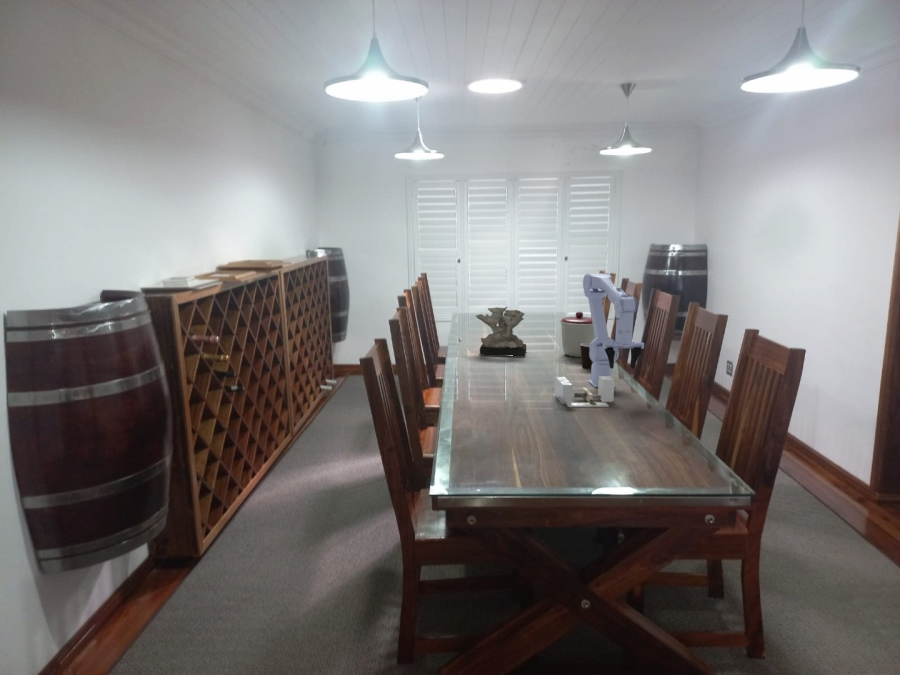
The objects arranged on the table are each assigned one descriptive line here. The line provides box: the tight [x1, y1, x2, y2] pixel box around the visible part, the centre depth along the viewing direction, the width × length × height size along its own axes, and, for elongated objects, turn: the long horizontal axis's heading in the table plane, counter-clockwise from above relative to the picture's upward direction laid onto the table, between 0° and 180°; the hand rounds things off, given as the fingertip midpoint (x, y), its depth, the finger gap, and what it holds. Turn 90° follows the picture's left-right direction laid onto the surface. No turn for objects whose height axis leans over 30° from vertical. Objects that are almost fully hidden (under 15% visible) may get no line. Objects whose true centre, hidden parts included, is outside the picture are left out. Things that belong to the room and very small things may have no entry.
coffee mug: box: [580, 343, 593, 370], centre depth 258 cm, size 12×9×10 cm
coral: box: [475, 306, 527, 357], centre depth 288 cm, size 25×20×21 cm
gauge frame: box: [554, 376, 610, 408], centre depth 207 cm, size 14×15×7 cm
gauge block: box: [593, 376, 616, 403], centre depth 208 cm, size 5×7×8 cm
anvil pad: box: [573, 387, 597, 405], centre depth 206 cm, size 14×5×3 cm, turn 3°
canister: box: [559, 311, 595, 358], centre depth 282 cm, size 18×18×21 cm
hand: (621, 367), depth 213 cm, fingers open, 7 cm apart
